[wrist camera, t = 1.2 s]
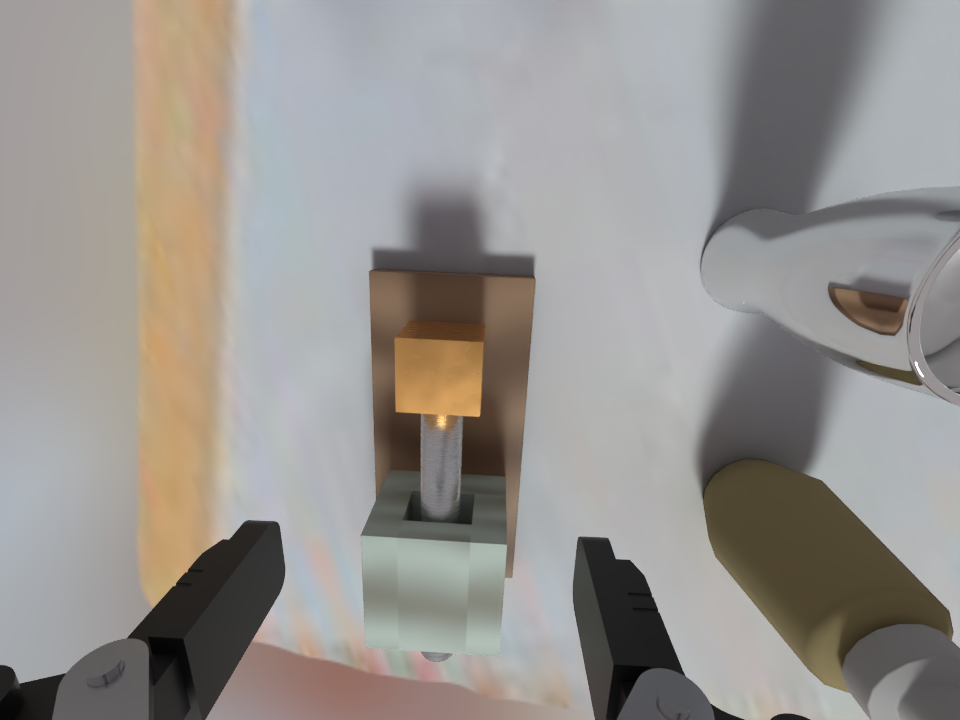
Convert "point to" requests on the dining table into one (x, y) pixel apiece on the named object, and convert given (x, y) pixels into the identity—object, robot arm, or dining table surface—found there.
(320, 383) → the dining table surface
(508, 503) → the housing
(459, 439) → the shaft
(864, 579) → the squeeze bottle
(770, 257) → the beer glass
